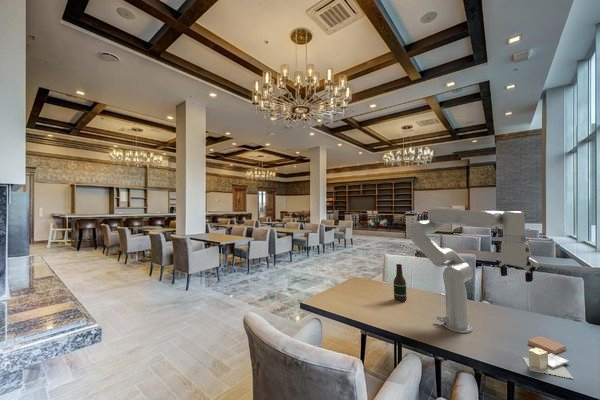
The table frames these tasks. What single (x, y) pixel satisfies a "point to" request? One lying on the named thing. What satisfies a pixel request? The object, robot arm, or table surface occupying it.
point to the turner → (544, 359)
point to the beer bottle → (399, 285)
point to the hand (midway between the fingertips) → (516, 278)
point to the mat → (551, 370)
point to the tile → (547, 345)
